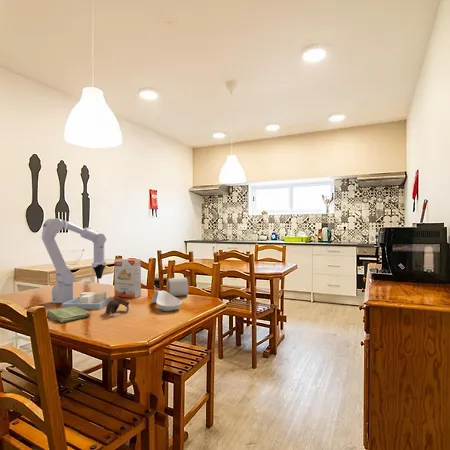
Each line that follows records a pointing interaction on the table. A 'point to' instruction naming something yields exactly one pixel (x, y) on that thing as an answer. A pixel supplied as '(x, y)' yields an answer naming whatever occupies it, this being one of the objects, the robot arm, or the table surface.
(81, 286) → the table surface
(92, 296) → the T-block
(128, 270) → the cracker box
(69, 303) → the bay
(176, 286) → the toilet paper
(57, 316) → the washcloth
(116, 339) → the table surface
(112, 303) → the brown arched piece
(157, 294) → the spoon rest
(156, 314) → the table surface
